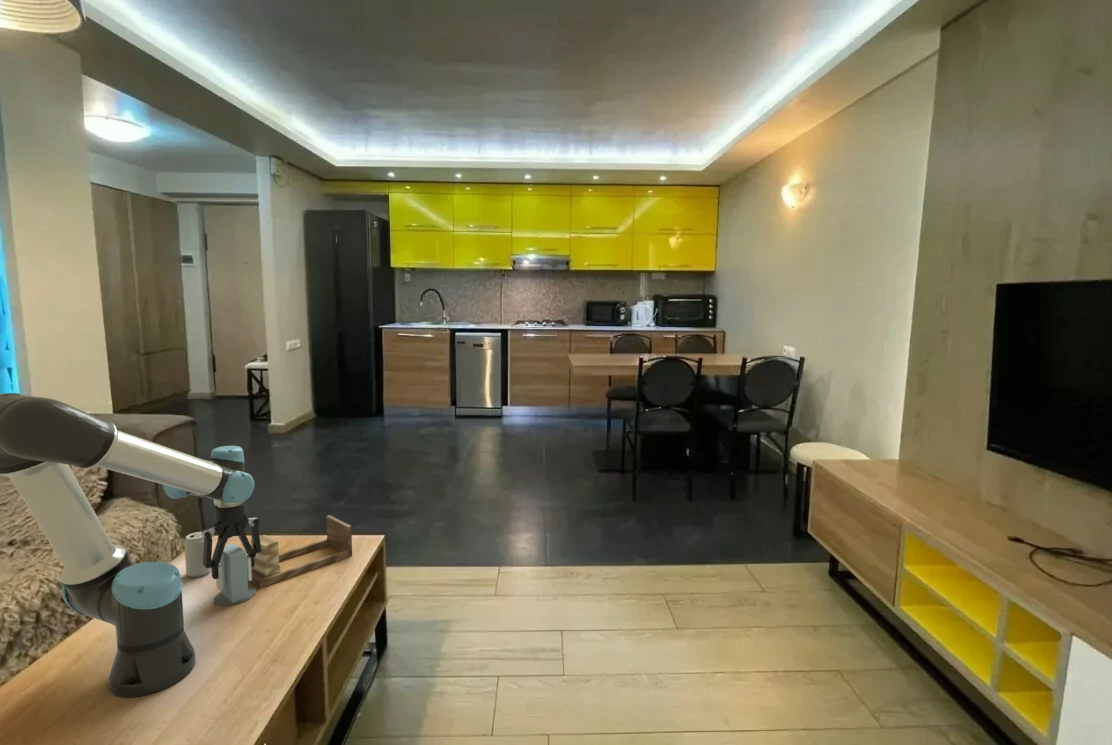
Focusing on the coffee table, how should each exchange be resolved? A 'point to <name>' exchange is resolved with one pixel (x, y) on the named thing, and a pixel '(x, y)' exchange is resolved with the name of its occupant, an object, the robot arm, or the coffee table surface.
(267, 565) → the offcut
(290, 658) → the coffee table surface
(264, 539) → the offcut
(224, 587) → the light blue block
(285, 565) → the coffee table surface
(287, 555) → the rack
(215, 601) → the coaster
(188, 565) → the beverage can
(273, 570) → the offcut
